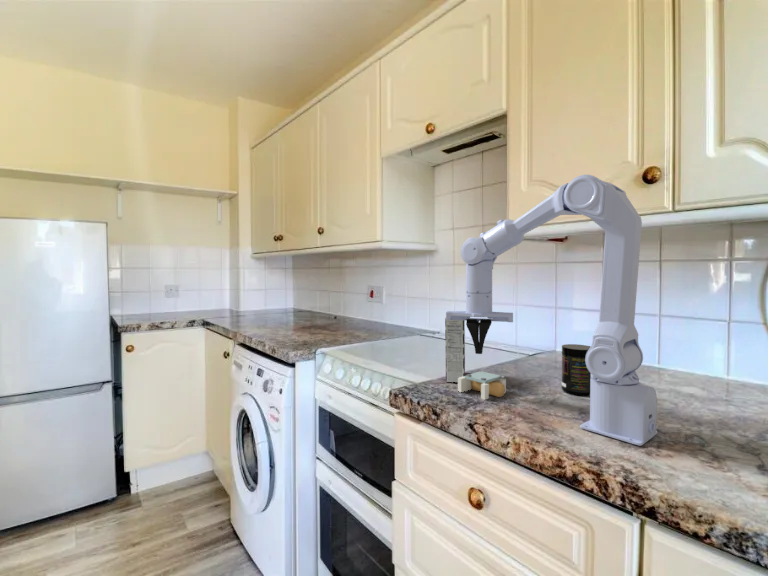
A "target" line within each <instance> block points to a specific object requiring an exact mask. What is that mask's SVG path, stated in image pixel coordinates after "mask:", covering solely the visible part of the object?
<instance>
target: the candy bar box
mask: <svg viewBox="0 0 768 576" xmlns="http://www.w3.org/2000/svg"><path fill="white" fill-rule="evenodd" d="M444 320H445V321H444V322H445V323H444V324H445V327H444V330H445V335H444V336H445V339H444V341H445V382H446V383H447V382H455V383H454V384H458V378H459V377H463V376H466V338H465V337H466V329H465V327H466V326H465V325H466V324H465V323H466V320H446V317H445V318H444Z"/></svg>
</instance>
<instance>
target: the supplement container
mask: <svg viewBox="0 0 768 576" xmlns="http://www.w3.org/2000/svg"><path fill="white" fill-rule="evenodd" d="M590 347H591V345H584V344H572V343H570V344H567V343H566V344H562V345H561V390H562V392H564V393H566V394H568V395H571V396H576V397H577V396H579V397H587V396H589V397H590V378H591V373H590V372H589V370H588V368H587V366H586V362H585V357H586V354H587V351H588V350H589V349H590Z"/></svg>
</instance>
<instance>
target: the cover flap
mask: <svg viewBox="0 0 768 576" xmlns="http://www.w3.org/2000/svg"><path fill="white" fill-rule="evenodd" d="M501 376H502V375H499V374H494V373H491V372H486V371H483V370H480V371H479V372H477V371H476V372H473V373H470V374H469V373H468V374H465V378H466V379H469V380H473V381H477V382H481V383H489V382H492V381H495V380H498V379H501Z"/></svg>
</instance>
